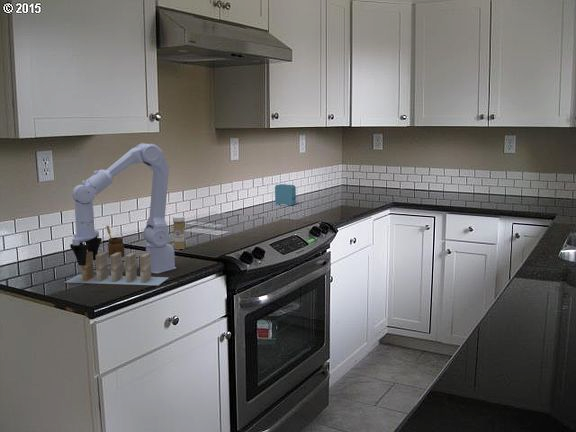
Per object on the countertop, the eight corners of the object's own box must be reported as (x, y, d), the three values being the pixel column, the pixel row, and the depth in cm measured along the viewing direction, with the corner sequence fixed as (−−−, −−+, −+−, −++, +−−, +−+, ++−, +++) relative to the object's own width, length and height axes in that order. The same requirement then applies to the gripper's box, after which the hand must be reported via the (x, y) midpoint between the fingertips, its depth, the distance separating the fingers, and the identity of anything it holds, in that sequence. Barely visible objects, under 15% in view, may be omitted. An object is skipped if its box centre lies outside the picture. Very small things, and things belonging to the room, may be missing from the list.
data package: (296, 205, 379) (295, 185, 377) (292, 206, 375) (291, 185, 373) (279, 203, 385) (278, 184, 383) (275, 204, 381) (274, 184, 380)
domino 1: (94, 276, 213) (92, 251, 211) (87, 280, 208) (85, 254, 206) (89, 276, 213) (88, 251, 211) (82, 280, 208) (80, 254, 207)
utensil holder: (120, 258, 242) (118, 227, 240) (105, 257, 243) (103, 226, 242) (127, 254, 248) (125, 224, 246) (112, 254, 249) (110, 224, 247)
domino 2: (108, 277, 212) (107, 252, 210) (101, 281, 207) (100, 255, 205) (103, 277, 212) (102, 252, 211) (97, 281, 207) (95, 255, 206)
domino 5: (151, 278, 209) (150, 253, 208) (145, 282, 204) (144, 256, 203) (146, 278, 210) (145, 253, 208) (140, 282, 205) (139, 256, 203)
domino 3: (122, 277, 211) (121, 252, 210) (116, 281, 206) (114, 255, 205) (118, 277, 211) (116, 252, 210) (111, 281, 206) (110, 255, 205)
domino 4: (136, 278, 210) (135, 252, 209) (130, 282, 205) (129, 256, 204) (132, 278, 210) (131, 252, 209) (126, 282, 205) (124, 256, 204)
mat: (169, 278, 211) (169, 277, 211) (158, 286, 201) (158, 285, 201) (79, 275, 216) (78, 274, 216) (64, 283, 206) (64, 282, 206)
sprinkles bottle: (173, 250, 255) (172, 217, 253) (174, 248, 259) (173, 215, 257) (185, 250, 256) (184, 216, 253) (185, 247, 260) (184, 215, 258)
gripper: (84, 218, 215) (86, 257, 217) (62, 225, 201) (65, 267, 203) (103, 218, 214) (106, 257, 216) (83, 225, 200) (85, 268, 202)
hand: (87, 262), depth 209 cm, fingers open, 7 cm apart
